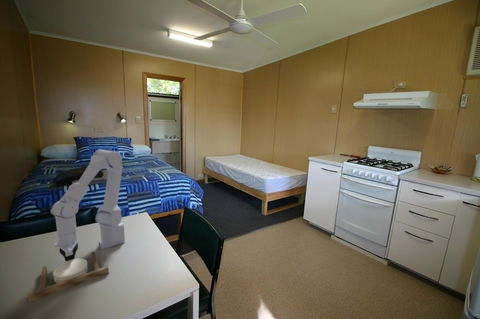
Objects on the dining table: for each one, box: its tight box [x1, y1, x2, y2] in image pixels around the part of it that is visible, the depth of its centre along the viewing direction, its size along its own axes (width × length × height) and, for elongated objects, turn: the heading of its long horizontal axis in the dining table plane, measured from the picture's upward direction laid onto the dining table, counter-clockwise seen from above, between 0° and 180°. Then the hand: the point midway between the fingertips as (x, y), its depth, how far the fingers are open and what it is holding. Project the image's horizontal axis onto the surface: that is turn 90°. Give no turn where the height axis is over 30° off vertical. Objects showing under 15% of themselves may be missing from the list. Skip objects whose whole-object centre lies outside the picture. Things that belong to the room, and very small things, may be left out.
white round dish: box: [52, 258, 89, 284], centre depth 79 cm, size 10×10×4 cm
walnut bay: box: [26, 251, 110, 303], centre depth 79 cm, size 22×14×2 cm, turn 130°
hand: (70, 262), depth 84 cm, fingers closed
